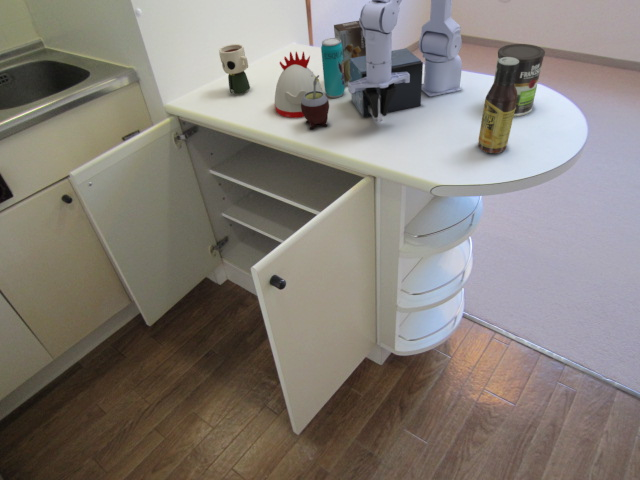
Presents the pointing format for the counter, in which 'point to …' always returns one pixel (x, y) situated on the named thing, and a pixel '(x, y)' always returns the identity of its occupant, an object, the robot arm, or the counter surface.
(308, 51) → the counter surface
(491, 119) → the sauce bottle
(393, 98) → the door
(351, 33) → the coffee box
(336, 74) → the beverage can
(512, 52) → the coffee can
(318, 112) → the mate gourd
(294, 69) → the white chicken figure
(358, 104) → the blue-gray cabinet body
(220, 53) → the character mug
